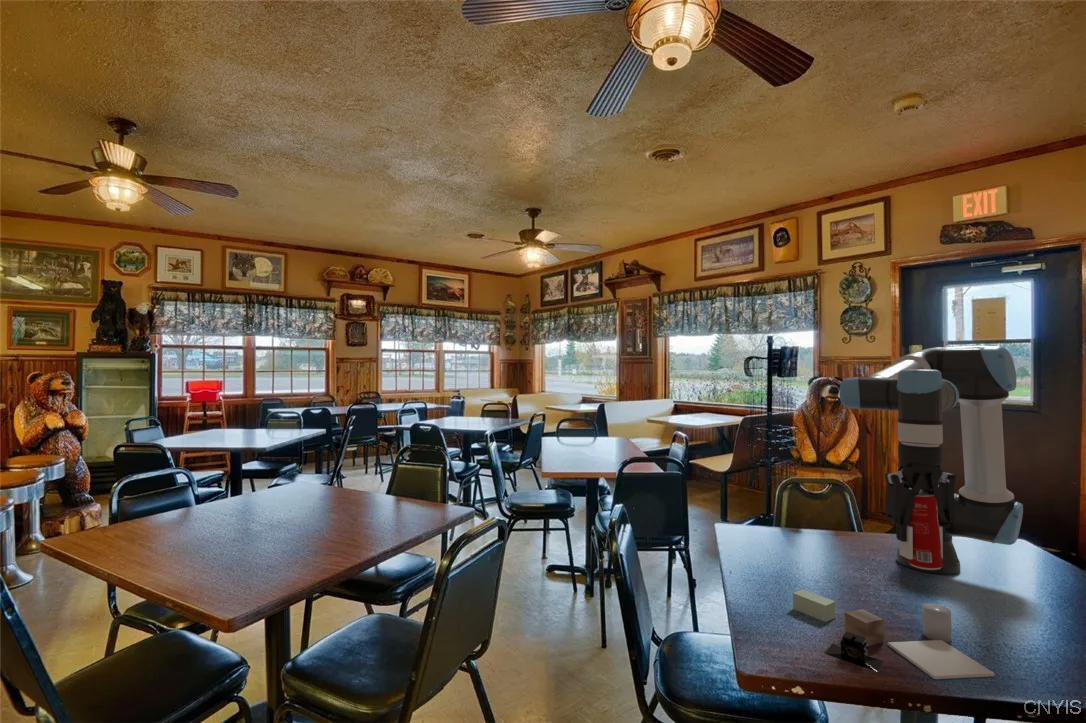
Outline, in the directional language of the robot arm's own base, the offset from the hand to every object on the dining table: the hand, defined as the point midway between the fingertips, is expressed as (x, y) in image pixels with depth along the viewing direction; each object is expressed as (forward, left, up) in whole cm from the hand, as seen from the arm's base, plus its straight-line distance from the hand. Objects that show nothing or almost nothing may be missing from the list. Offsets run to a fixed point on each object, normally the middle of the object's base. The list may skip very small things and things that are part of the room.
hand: (920, 556), depth 107 cm
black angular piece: (+15, +1, -20) cm, 25 cm away
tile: (-1, +3, -20) cm, 20 cm away
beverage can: (0, 0, -2) cm, 2 cm away
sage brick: (+12, -18, -20) cm, 29 cm away
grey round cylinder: (-8, -6, -20) cm, 22 cm away
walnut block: (+8, -6, -20) cm, 22 cm away
